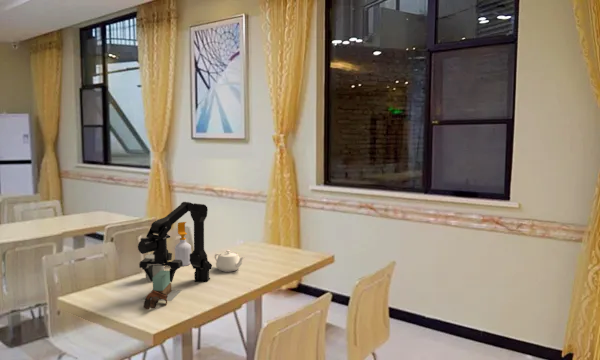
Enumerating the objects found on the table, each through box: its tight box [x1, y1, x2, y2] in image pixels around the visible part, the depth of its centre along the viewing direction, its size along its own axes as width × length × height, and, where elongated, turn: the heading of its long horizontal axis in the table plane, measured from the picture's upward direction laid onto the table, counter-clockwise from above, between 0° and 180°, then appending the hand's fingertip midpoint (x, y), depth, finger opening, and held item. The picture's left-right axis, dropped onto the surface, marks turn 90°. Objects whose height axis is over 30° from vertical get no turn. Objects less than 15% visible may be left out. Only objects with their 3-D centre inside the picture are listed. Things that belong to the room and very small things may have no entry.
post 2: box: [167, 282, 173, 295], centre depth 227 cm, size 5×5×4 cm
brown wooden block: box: [158, 287, 167, 299], centre depth 221 cm, size 5×5×4 cm
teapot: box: [214, 249, 245, 273], centre depth 264 cm, size 22×14×11 cm, turn 55°
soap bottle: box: [174, 221, 192, 267], centre depth 274 cm, size 9×9×25 cm
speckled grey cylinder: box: [144, 253, 165, 282], centre depth 248 cm, size 10×10×12 cm
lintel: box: [152, 269, 171, 291], centre depth 223 cm, size 11×4×6 cm, turn 178°
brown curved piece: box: [143, 289, 168, 310], centre depth 210 cm, size 12×10×8 cm
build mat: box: [141, 289, 182, 302], centre depth 224 cm, size 14×14×1 cm
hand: (161, 281), depth 223 cm, fingers open, 9 cm apart
